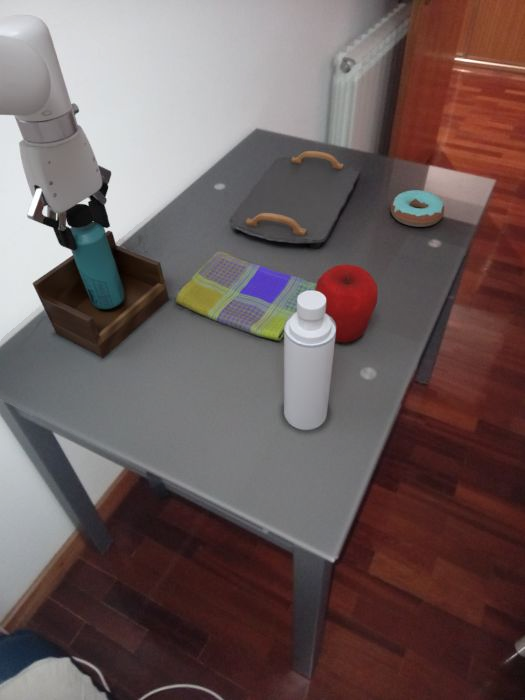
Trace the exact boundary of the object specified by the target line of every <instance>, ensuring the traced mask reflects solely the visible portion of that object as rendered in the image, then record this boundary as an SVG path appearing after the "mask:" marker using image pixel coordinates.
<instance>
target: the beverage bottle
mask: <svg viewBox="0 0 525 700" xmlns="http://www.w3.org/2000/svg"><path fill="white" fill-rule="evenodd" d="M93 220H94V217H93V214H92V212H91V210H90V207H89V206H88V204H85V203H78V204H76V205H75V206H73V207H71V208H70V209H68V210H66V224H67V226H68V227H69V228H70V229H71V231H72V234H73V237H74V240H75V242H76V245H77V249H76V250H75V251H73V250H70V251H71V253H72V255H73V256H74V259H75V262H76V265H77V267H78V270H79V272H80V274H79V275H81V278H82V280H83V284H84V288H86V289H85V290H87V292H86V293H88V294H87V295H88V298H90V301H91V304H93V305H94V306H95V307H96V308H99V309H110V308H113V307H116V306H118V305H119V304H120V303H121V302H122V301H123V300H124V296H125V293H124V289H123V288H124V287H123V283H121V281H122V280H120V277H119V273H118V270H117V269H118V268H117V267H116V266H117V265H116V264H115V262H116V261H114V258H113V255H112V252H111V249H110V246H109V243H108V240H107V237H106V228H104V227H103V226H102V225H100V224H98V223H96V222H94V221H93Z"/></svg>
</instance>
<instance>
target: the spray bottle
mask: <svg viewBox="0 0 525 700" xmlns="http://www.w3.org/2000/svg"><path fill="white" fill-rule="evenodd" d="M325 311H326V297H325V296H324V295H323V294H322V293H320V292H318V291H316V290H315V291H314V290H309V291H304V292H302V293H301V294H300V295H299V296H298V298H297V312H295V313H293V314H292V315H290V316H289V317H288V318H287V320H286V322H287V323H286V322H285V324H286V325H284V337H283V414H284V415H283V416H284V418H285V420H286V421H287V423H288V424H289V425H290V426H291V427H294V428H296V429H297V430H301V431H311V430H315V429H317V428H319V427H320V426H322V425H323V424H324V423H325V421H326V419H327V415H328V408H329V399H330V390H331V380H332V371H333V363H334V353H335V343H336V341H335V335H336V324H335V322H334V320H333V319H332V318H331V317H330V316H329V315H328V314H326V313H325ZM330 319H331V320H332V321H333V322H332V321H331V320H330Z"/></svg>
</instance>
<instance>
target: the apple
mask: <svg viewBox="0 0 525 700" xmlns="http://www.w3.org/2000/svg"><path fill="white" fill-rule="evenodd" d="M316 284H317V286H316V290H315V291H318V292H320V293H322V294H323V295H324V296H325V297H326V311H325V313H326V314H328V315H329V316H330V317H331V318H332V319H333V320H334V322H335V324H336V335H335V342H337V343H349V342H353V341H356V340H357V339H359V338H360V337H362V336H363V334H364V333H365V332H366V330H367V328H368V325H369V324H370V320H371V318H372V315H373V313H374V310H375V308H376V306H377V303H378V295H379V290H378V284H377V282H376V281H375V280H374V278H373V276H372V275H371V273H369V272H368V271H367V270H366V269H365V268H363V267H361V266H358V265H354V264H346V263H345V264H344V263H342V264H337V265H333V267H331V268H328V269H327V270H326V271H325V272H324V273H322V274H321V276H320V277H319V278H318V279H317V282H316ZM330 320H331V319H330ZM331 321H332V320H331ZM332 322H333V321H332Z"/></svg>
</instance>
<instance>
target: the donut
mask: <svg viewBox="0 0 525 700" xmlns="http://www.w3.org/2000/svg"><path fill="white" fill-rule="evenodd" d="M390 212H391V216H393V218H394V219H395V220H396V221H397V222H399V223H401V224H403V225H405V226H409V227H412V228H413V227H414V228H425V227H430V226H433V225H435V224H437V223H438V222H440V221H441V219H442V218H443V217H444V215H445V205H444V202H443V200H442V199H441V198H440V197H439V196H437V195H436V194H435V193H432V192H429V191H426V190H419V189H411V190H406V191H403V192H400V193H398V194H397V195H396V196H395V197H394V198H393V199H392V201H391V203H390Z"/></svg>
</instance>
